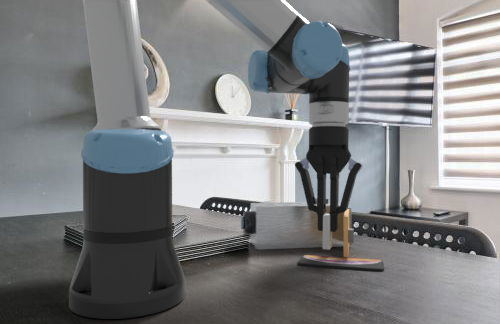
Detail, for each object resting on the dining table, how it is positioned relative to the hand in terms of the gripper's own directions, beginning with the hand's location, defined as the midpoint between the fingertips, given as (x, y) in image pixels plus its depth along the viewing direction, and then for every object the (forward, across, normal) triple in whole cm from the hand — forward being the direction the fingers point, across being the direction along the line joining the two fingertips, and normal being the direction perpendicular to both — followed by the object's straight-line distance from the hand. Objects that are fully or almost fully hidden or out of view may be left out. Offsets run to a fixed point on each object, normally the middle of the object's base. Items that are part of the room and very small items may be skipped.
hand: (327, 247), depth 78 cm
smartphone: (+2, +3, -4) cm, 5 cm away
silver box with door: (+2, -10, +9) cm, 14 cm away
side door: (+1, +4, +5) cm, 6 cm away
